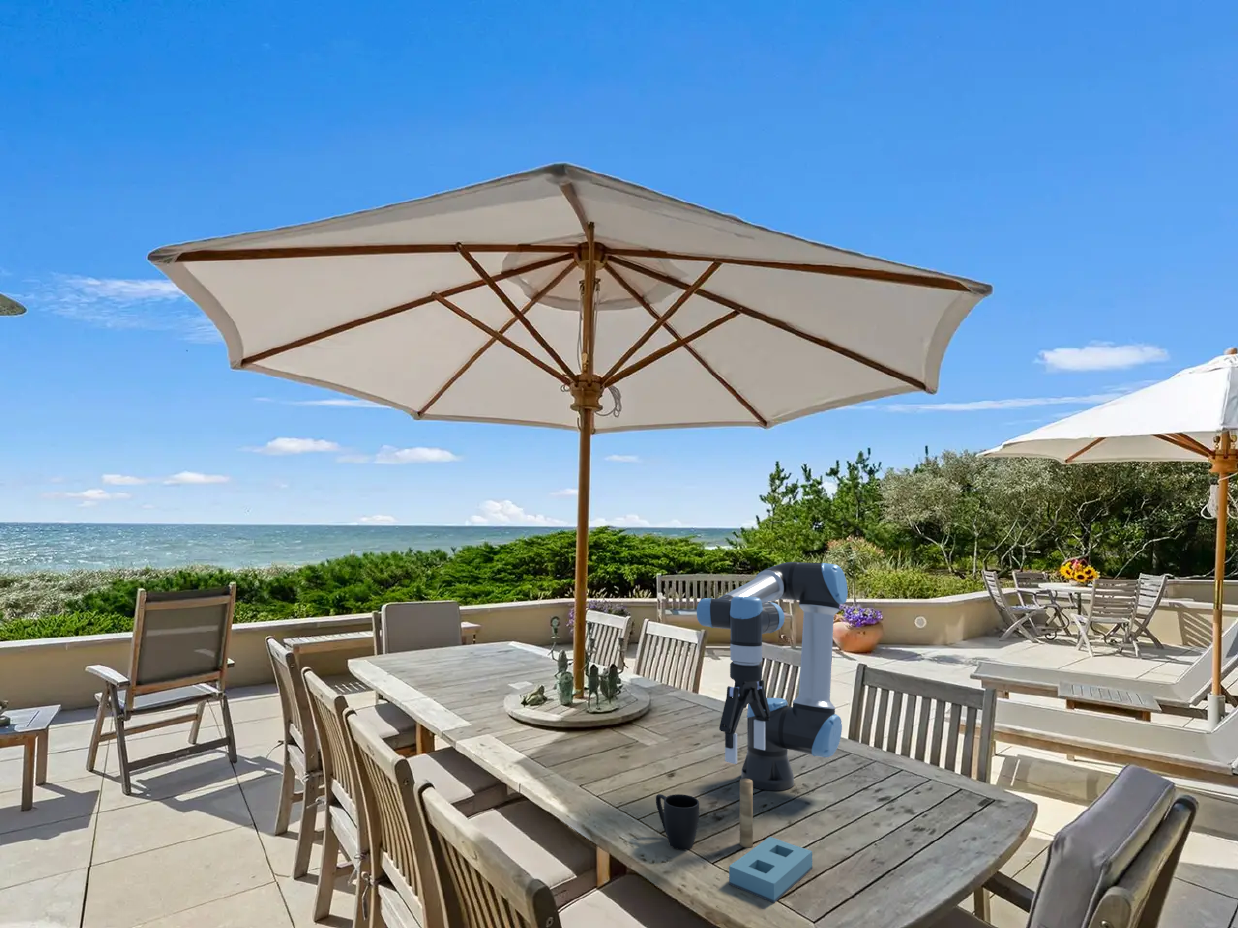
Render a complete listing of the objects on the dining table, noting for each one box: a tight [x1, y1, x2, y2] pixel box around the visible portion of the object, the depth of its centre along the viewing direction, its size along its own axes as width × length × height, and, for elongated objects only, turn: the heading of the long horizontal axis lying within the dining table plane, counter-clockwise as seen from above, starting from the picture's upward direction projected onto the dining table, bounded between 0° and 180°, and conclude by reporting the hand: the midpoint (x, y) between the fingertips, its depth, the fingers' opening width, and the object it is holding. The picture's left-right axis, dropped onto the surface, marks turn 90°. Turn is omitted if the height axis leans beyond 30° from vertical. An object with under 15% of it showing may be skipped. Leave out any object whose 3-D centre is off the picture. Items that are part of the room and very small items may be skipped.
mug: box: [655, 793, 700, 851], centre depth 149 cm, size 8×12×10 cm
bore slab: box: [728, 836, 813, 904], centre depth 134 cm, size 18×10×4 cm, turn 140°
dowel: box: [739, 778, 754, 849], centre depth 149 cm, size 3×3×14 cm
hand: (745, 755), depth 150 cm, fingers open, 13 cm apart
